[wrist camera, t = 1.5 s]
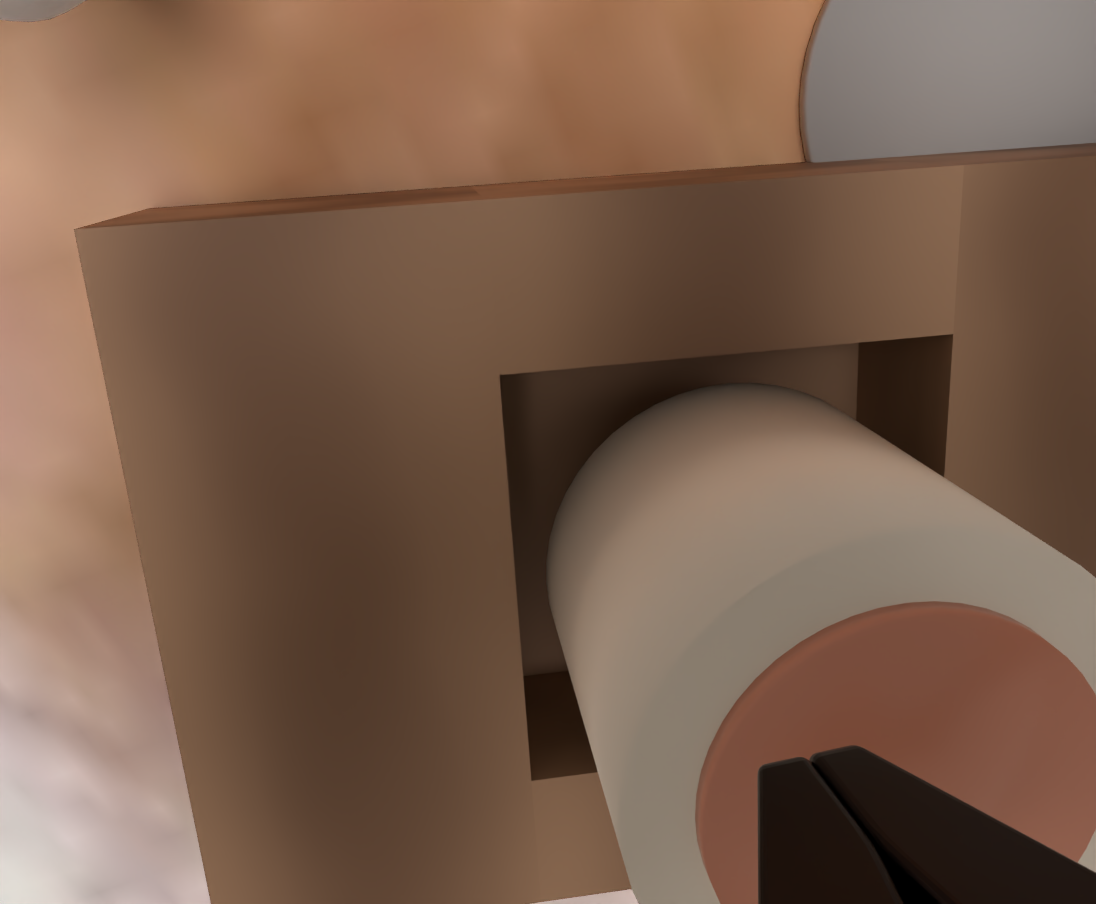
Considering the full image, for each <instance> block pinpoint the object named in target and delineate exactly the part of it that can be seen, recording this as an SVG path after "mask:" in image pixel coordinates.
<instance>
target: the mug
mask: <svg viewBox="0 0 1096 904" xmlns="http://www.w3.org/2000/svg"><path fill="white" fill-rule="evenodd" d="M84 1H86V0H0V20H6V21H23V22H35V21H41V20H47V19H52V18H54V17H56V16H59V15H61V14H64V13H66V12H68V11H70V10H71V9H73V8H75V7H76V6H78V5H79V4H81V3H83V2H84Z"/></svg>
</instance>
